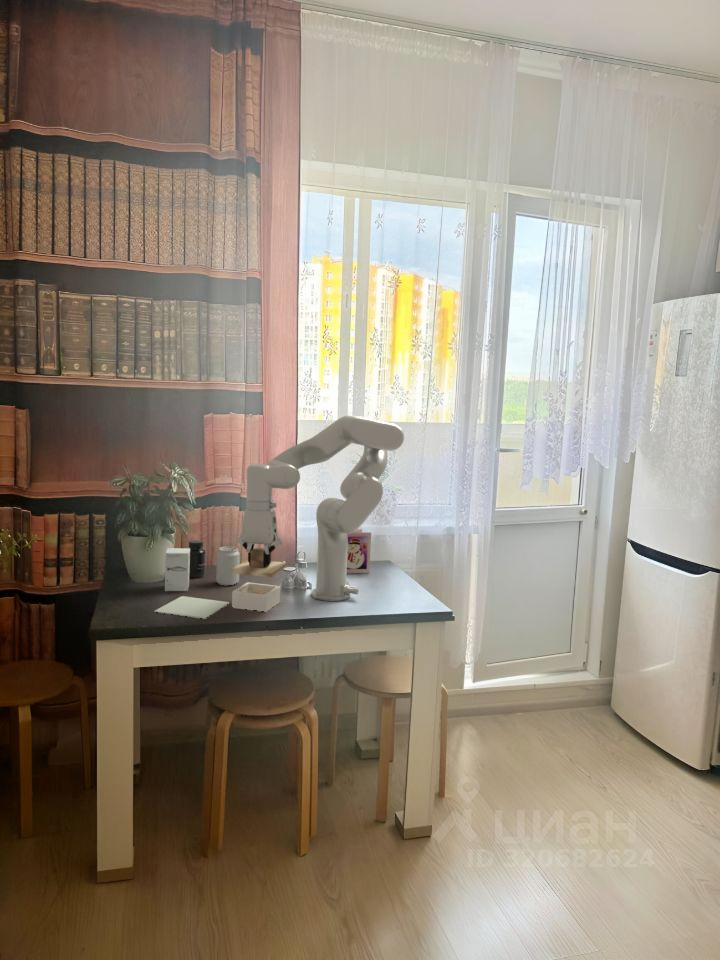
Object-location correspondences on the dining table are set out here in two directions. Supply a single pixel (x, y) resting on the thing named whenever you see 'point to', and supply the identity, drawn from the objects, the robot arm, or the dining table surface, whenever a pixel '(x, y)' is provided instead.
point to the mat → (192, 607)
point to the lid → (258, 565)
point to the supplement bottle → (197, 559)
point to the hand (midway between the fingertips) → (259, 564)
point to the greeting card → (358, 552)
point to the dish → (256, 597)
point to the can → (227, 565)
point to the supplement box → (177, 569)
